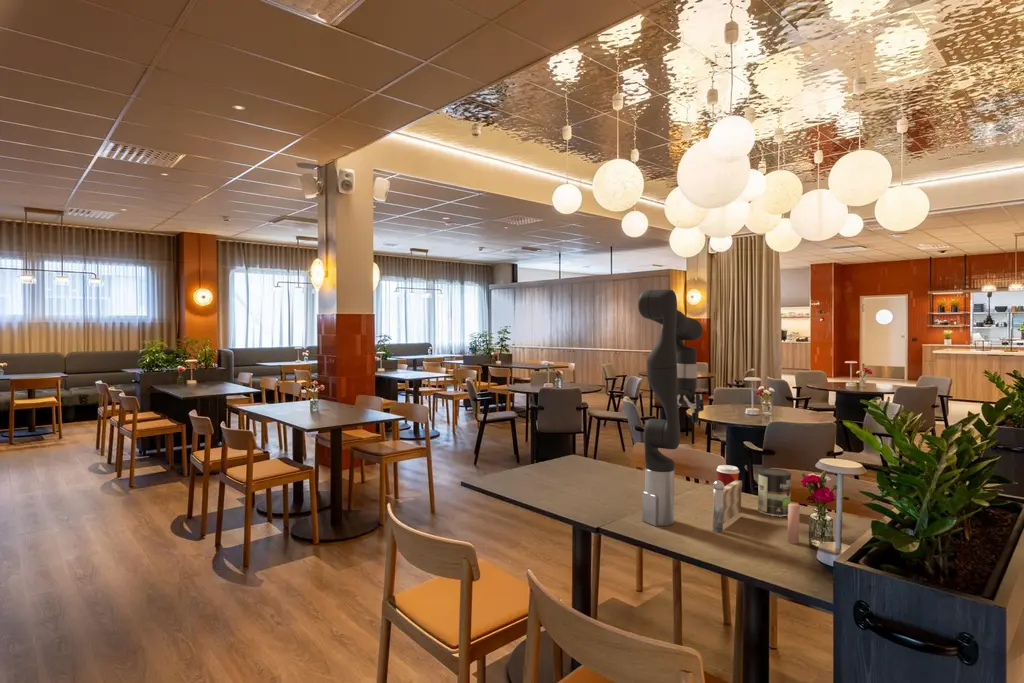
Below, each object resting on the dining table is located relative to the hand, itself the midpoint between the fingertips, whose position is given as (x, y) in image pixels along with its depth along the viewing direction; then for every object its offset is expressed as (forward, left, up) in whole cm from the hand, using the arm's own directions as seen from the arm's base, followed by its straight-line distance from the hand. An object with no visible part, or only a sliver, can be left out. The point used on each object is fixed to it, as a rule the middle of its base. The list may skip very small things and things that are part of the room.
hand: (685, 421), depth 201 cm
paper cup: (+11, -10, -30) cm, 33 cm away
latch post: (0, -42, -30) cm, 52 cm away
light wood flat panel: (-2, -22, -28) cm, 36 cm away
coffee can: (+20, -22, -30) cm, 42 cm away
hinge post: (-12, -25, -30) cm, 41 cm away
